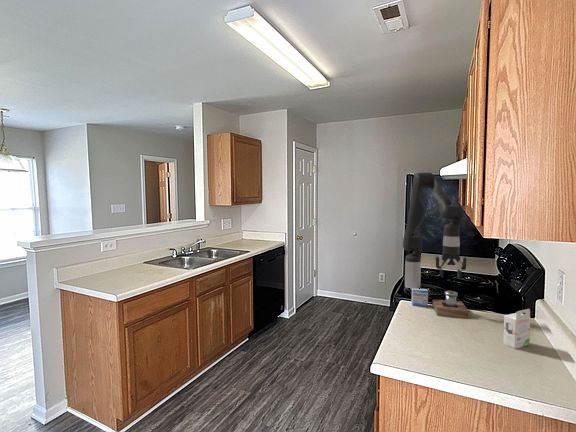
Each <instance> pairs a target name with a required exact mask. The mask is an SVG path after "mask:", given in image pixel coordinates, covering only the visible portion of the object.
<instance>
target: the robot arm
mask: <svg viewBox="0 0 576 432" xmlns="http://www.w3.org/2000/svg"><path fill="white" fill-rule="evenodd" d="M411 188H412V189H411V198H410V204H409V210H408V216H407V222H406V223H407V224H406V227H405V231H404V235H403V239H402V248H403V250H405V251H413V252H412V253H410V254H407V255H406V256H405V258H404V260H405V261H404V263H405V264H404V288H406V289H408V288H410V289H409V290H412V288H420V289H421V276H422V275H421V270H422V268H421V267H422V265H421V264H422V261H421V260H422V252H423V251H422V250H423V249H422V248H423V240H422V237H421V236H419V235H413V234H414V232H415V231H416V230H417V229H418V227H420V226H421V224H422V223H423V222H424V221H425V216H426V210H427V209H426V206H425V204H424V202H423V200H422V198H421V191H422V190H423V189H430V190H431V191H432V193H431V199H432V201H433V202H434V204H435V205H436V207H437V208H438V210H439V215H440V216H441V218H442V219H445V220H451V222H449V223H446V224H444V225H443V238H442V255H441V256H438V255H436V256H435V268H436V269H438V270H439V275H440V277H441V278H444V269H445V267H446V266H450V265H451V266H455V267H456V268H457V278H458V279H461V277H462V272H463V271H465V270H467V258H466V257H465V256H463V257H462V256H460V247H461V243H460V241H461V240H460V227H461V224H462V221H463V219H464V214H465V211H464V208H463V206H461V205H459V204H452V203H453V202H452V199H451V198H450V197H449V196H448V195H447V194H446V192H445V191H444V190H443V189H442V187H441V185H440V182H439V181H438V179H437V177H436V175H434V174H433V172H418V173H415V174H414V176H413V180H412V187H411ZM441 260H442V261H443V262H442V263H441V265H440V261H441ZM460 261H461V262H462V263H461V266H460V264H459V262H460Z"/></svg>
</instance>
